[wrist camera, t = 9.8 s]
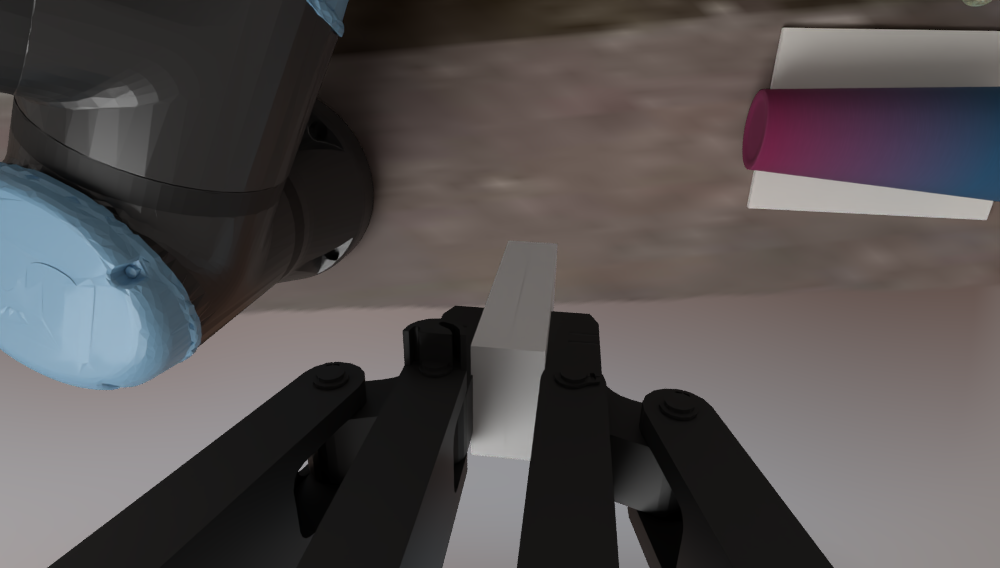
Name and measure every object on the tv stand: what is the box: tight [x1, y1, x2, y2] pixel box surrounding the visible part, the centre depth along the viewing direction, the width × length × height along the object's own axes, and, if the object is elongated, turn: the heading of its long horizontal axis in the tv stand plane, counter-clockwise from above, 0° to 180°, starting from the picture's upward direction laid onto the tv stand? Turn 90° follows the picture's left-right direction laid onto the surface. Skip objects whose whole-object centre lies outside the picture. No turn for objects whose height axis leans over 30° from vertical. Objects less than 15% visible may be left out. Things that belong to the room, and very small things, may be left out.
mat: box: [747, 28, 1000, 220], centre depth 38 cm, size 16×12×1 cm
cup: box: [742, 87, 1000, 202], centre depth 35 cm, size 7×7×15 cm
